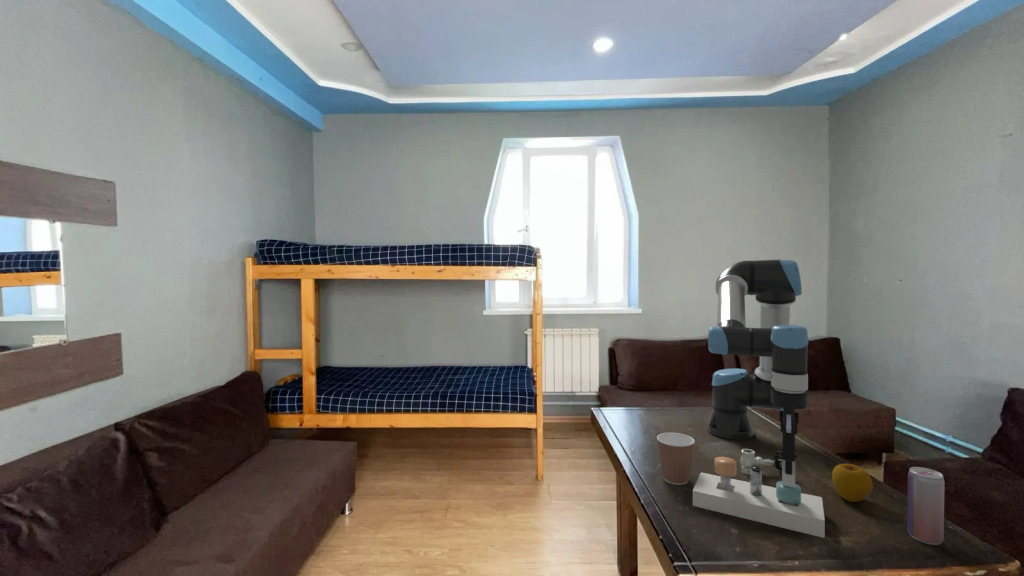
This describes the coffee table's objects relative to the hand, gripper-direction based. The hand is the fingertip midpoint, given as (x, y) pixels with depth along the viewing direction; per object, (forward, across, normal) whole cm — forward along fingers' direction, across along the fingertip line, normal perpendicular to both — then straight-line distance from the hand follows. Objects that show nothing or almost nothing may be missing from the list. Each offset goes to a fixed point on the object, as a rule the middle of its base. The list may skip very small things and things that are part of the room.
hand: (788, 485), depth 110 cm
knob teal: (+7, 0, 0) cm, 7 cm away
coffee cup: (+8, -7, -28) cm, 30 cm away
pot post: (+4, 0, -7) cm, 8 cm away
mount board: (+8, 0, -7) cm, 11 cm away
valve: (+8, -24, -7) cm, 26 cm away
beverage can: (+8, -5, +26) cm, 28 cm away
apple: (+8, -18, +14) cm, 24 cm away
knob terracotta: (+4, 0, -14) cm, 15 cm away
